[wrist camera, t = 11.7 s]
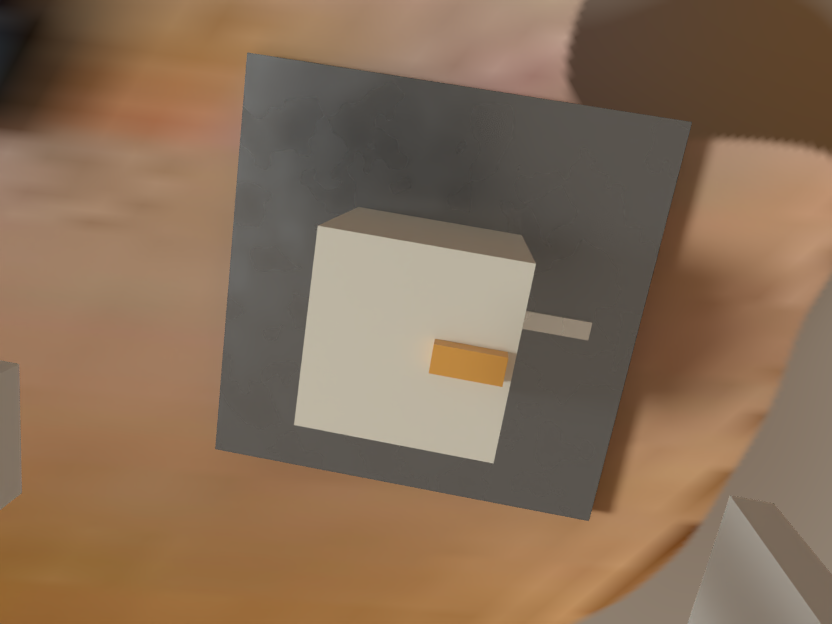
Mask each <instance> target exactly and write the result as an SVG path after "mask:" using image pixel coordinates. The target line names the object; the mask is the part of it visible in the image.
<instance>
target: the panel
mask: <svg viewBox="0 0 832 624" xmlns="http://www.w3.org/2000/svg"><path fill="white" fill-rule="evenodd" d="M691 124H692V122H688V121H682V120H675V119H669V118H663V117H656V116H649V115H644V114H637V113H631V112H624V111H618V110H612V109H605V108H599V107H592V106H586V105H579V104H573V103H567V102H560V101H554V100H547V99H541V98H535V97H528V96H522V95H515V94H509V93H503V92H496V91H490V90H483V89H477V88H471V87H464V86H458V85H451V84H445V83H439V82H432V81H426V80H419V79H413V78H407V77H400V76H394V75H387V74H381V73H375V72H368V71H362V70H355V69H349V68H343V67H336V66H330V65H323V64H317V63H311V62H304V61H298V60H291V59H285V58H279V57H272V56H266V55H259V54H253V53H247V62H246V75H245V87H244V100H243V112H242V125H241V137H240V149H239V162H238V174H237V187H236V199H235V211H234V224H233V236H232V249H231V261H230V274H229V286H228V298H227V311H226V323H225V336H224V348H223V360H222V373H221V385H220V398H219V410H218V423H217V435H216V447H215V449H218V450H223V451H228V452H233V453H239V454H244V455H249V456H254V457H259V458H265V459H270V460H275V461H280V462H285V463H291V464H296V465H301V466H306V467H311V468H317V469H322V470H327V471H332V472H337V473H342V474H348V475H353V476H358V477H363V478H368V479H374V480H379V481H384V482H389V483H394V484H400V485H405V486H410V487H415V488H420V489H426V490H431V491H436V492H441V493H446V494H452V495H457V496H462V497H467V498H472V499H478V500H483V501H488V502H493V503H498V504H503V505H509V506H514V507H519V508H524V509H529V510H535V511H540V512H545V513H550V514H555V515H561V516H566V517H571V518H576V519H581V520H587V521H589V519H590V515H591V511H592V507H593V503H594V499H595V495H596V492H597V488H598V484H599V480H600V476H601V472H602V468H603V464H604V461H605V457H606V453H607V449H608V445H609V441H610V437H611V434H612V430H613V426H614V422H615V418H616V414H617V410H618V407H619V403H620V399H621V395H622V391H623V387H624V383H625V379H626V376H627V372H628V368H629V364H630V360H631V356H632V352H633V349H634V345H635V341H636V337H637V333H638V329H639V325H640V321H641V318H642V314H643V310H644V306H645V302H646V298H647V294H648V291H649V287H650V283H651V279H652V275H653V271H654V267H655V264H656V260H657V256H658V252H659V248H660V244H661V240H662V236H663V233H664V229H665V225H666V221H667V217H668V213H669V209H670V206H671V202H672V198H673V194H674V190H675V186H676V182H677V179H678V175H679V171H680V167H681V163H682V159H683V155H684V151H685V148H686V144H687V140H688V136H689V132H690V128H691ZM357 207H362V208H368V209H374V210H379V211H385V212H391V213H397V214H403V215H408V216H414V217H420V218H426V219H432V220H437V221H443V222H449V223H455V224H461V225H466V226H472V227H478V228H484V229H490V230H495V231H501V232H507V233H513V234H519V235H522V236H523V239H524V241H525V243H526V245H527V247H528V249H529V251H530V253H531V255H532V257H533V259H534V261H535V263H536V266H535V271H534V276H533V280H532V285H531V290H530V294H529V299H528V304H527V308H526V313H525V318H524V323H523V327H522V332H521V337H520V341H519V346H518V351H517V355H516V360H515V365H514V370H513V374H512V379H511V384H510V388H509V393H508V398H507V402H506V407H505V412H504V417H503V421H502V426H501V431H500V435H499V440H498V445H497V449H496V454H495V459H494V463H489V462H483V461H478V460H473V459H468V458H463V457H457V456H452V455H447V454H442V453H437V452H432V451H426V450H421V449H416V448H411V447H406V446H400V445H395V444H390V443H385V442H380V441H374V440H369V439H364V438H359V437H354V436H348V435H343V434H338V433H333V432H328V431H323V430H317V429H312V428H307V427H302V426H297V425H294V421H295V412H296V404H297V396H298V387H299V379H300V370H301V362H302V354H303V345H304V337H305V329H306V320H307V312H308V303H309V295H310V287H311V278H312V270H313V261H314V253H315V245H316V236H317V228H318V225H320V224H323V223H325V222H327V221H329V220H331V219H333V218H336V217H338V216H340V215H342V214H344V213H346V212H349V211H351V210H353V209H355V208H357Z"/></svg>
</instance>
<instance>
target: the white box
mask: <svg viewBox="0 0 832 624" xmlns="http://www.w3.org/2000/svg"><path fill="white" fill-rule="evenodd" d="M535 266H536V263H535V261H534V259H533V257H532V255H531V253H530V251H529V249H528V247H527V245H526V243H525V241H524V239H523V236H522V235H519V234H513V233H507V232H501V231H495V230H490V229H484V228H478V227H472V226H466V225H461V224H455V223H449V222H443V221H437V220H432V219H426V218H420V217H414V216H408V215H403V214H397V213H391V212H385V211H379V210H374V209H368V208H362V207H357V208H355V209H353V210H351V211H349V212H346V213H344V214H342V215H340V216H338V217H336V218H333V219H331V220H329V221H327V222H325V223H323V224H320V225H318V228H317V236H316V245H315V253H314V261H313V270H312V278H311V287H310V295H309V303H308V312H307V320H306V329H305V337H304V345H303V354H302V362H301V370H300V379H299V387H298V396H297V404H296V412H295V421H294V425H297V426H302V427H307V428H312V429H317V430H323V431H328V432H333V433H338V434H343V435H348V436H354V437H359V438H364V439H369V440H374V441H380V442H385V443H390V444H395V445H400V446H406V447H411V448H416V449H421V450H426V451H432V452H437V453H442V454H447V455H452V456H457V457H463V458H468V459H473V460H478V461H483V462H489V463H494V459H495V454H496V449H497V445H498V440H499V435H500V431H501V426H502V421H503V417H504V412H505V407H506V402H507V398H508V393H509V388H510V384H511V379H512V374H513V370H514V365H515V360H516V355H517V351H518V346H519V341H520V337H521V332H522V327H523V323H524V318H525V313H526V308H527V304H528V299H529V294H530V290H531V285H532V280H533V276H534V271H535Z"/></svg>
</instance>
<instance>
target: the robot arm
mask: <svg viewBox="0 0 832 624" xmlns="http://www.w3.org/2000/svg"><path fill="white" fill-rule="evenodd" d="M21 493H22V482H21V432H20V383H19V364H17V363H11V362H6V361H0V510H1V509H2V508H3V507H4V506H6V505H7V504H8V503H10V502H11V501H12V500H13V499H15V498H16V497H17V496H19V495H20V494H21ZM688 624H832V574H831V573H830V572H829V570H828V569H827V568H826V567H825V565H824V564H823V563H822V562H821V561H820V559H819V558H818V557H817V556H816V554H815V553H814V552H813V551H812V550H811V548H810V547H809V546H808V545H807V543H806V542H805V541H804V540H803V538H802V537H801V536H800V535H799V534H798V532H797V531H796V530H795V529H794V528H793V526H792V525H791V524H790V523H789V521H788V520H787V519H786V518H785V517H784V515H783V514H782V513H781V511H780V510H779V509H778V508H777V507H776V506H775V504H774V503H768V502H763V501H758V500H753V499H747V498H742V497H736V496H731V495H730V497H729V500H728V503H727V506H726V509H725V512H724V515H723V518H722V521H721V524H720V527H719V530H718V533H717V536H716V539H715V542H714V545H713V548H712V551H711V554H710V557H709V560H708V563H707V566H706V569H705V572H704V575H703V578H702V581H701V584H700V587H699V591H698V593H697V596H696V600H695V603H694V605H693V609H692V612H691V614H690V618H689V621H688Z"/></svg>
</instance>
